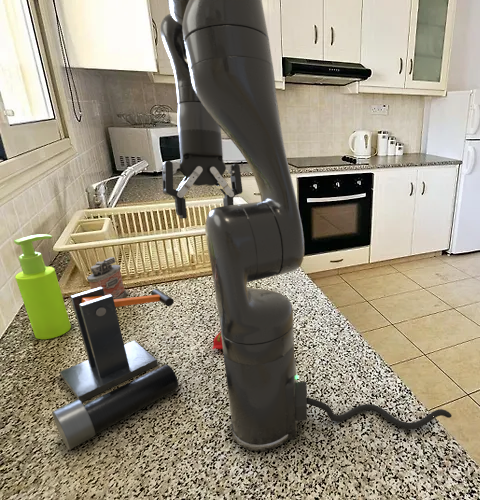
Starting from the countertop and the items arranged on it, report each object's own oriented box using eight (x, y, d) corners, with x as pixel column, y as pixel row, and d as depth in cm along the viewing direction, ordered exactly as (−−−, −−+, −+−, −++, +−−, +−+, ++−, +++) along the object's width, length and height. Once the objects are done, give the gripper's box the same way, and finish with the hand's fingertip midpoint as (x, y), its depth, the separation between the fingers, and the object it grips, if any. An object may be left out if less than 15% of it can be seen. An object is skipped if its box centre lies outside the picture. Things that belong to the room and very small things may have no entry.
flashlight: (165, 379, 63) (159, 352, 61) (182, 395, 60) (177, 366, 58) (59, 435, 52) (48, 404, 50) (73, 458, 49) (62, 425, 47)
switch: (158, 298, 71) (160, 286, 71) (173, 307, 68) (174, 295, 68) (77, 308, 61) (78, 294, 61) (89, 320, 58) (90, 305, 57)
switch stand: (135, 345, 72) (120, 275, 67) (157, 365, 67) (143, 291, 61) (61, 377, 63) (36, 300, 58) (80, 403, 58) (55, 321, 53)
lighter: (103, 309, 84) (93, 269, 80) (90, 308, 84) (80, 267, 81) (130, 293, 91) (121, 255, 88) (118, 291, 92) (109, 254, 88)
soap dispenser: (82, 326, 77) (56, 235, 70) (42, 342, 72) (10, 246, 65) (68, 318, 80) (43, 229, 73) (29, 333, 75) (-2, 239, 68)
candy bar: (248, 310, 85) (247, 298, 84) (263, 312, 84) (262, 300, 83) (209, 353, 70) (207, 339, 69) (227, 355, 70) (226, 342, 69)
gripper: (163, 123, 63) (172, 219, 65) (244, 131, 72) (249, 216, 74) (154, 131, 69) (162, 218, 71) (229, 137, 78) (234, 215, 80)
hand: (206, 217), depth 72 cm, fingers open, 8 cm apart
